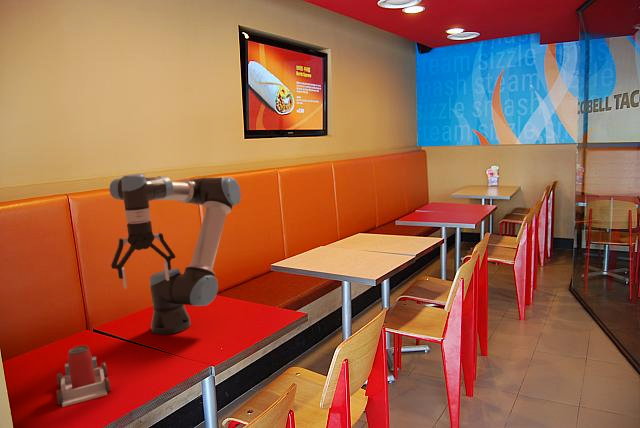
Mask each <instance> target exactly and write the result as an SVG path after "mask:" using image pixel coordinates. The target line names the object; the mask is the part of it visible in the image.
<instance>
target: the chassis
mask: <svg viewBox="0 0 640 428" xmlns="http://www.w3.org/2000/svg"><path fill="white" fill-rule="evenodd" d="M92 362H93V369H94V375H95V383H94V384H90V385H86V386H82V387H79V388H75V389H73V388H72V384H71V378H70V371H69V365H68V363H64V369H65V370H64V371H65V375H63V373H61V372H60V373H57V374H56V381H57V385H58V386H57V387H58V388H60V389H58V390H56V400H57V404H58V406H60V405H61V406H62V408H64V407H67V406H71V405H75V404H78V403H83V402H86V401H90V400H93V399H97V398H100V397H104V396H107V395H108V392H110V391H111V386H110V379H109V377H105V376H107V375H108V371H107V365H106V362H101V363H100V364H101V366H99V367H98V363H97V356H92Z"/></svg>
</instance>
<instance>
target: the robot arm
mask: <svg viewBox="0 0 640 428" xmlns="http://www.w3.org/2000/svg"><path fill="white" fill-rule="evenodd" d="M109 193H110V196H111V197H112V198H113V199H116V200H122V201H123V204H124V213H125V219H126V222H127V225H126V228H127V234H128V236H127V238H121V237H120V238H118V245H117V249H116V251H115V254H114V256H113V259H112V261H111V264H110V265H111V269H115V270H117V274H118V275H117V276H118V279H119V280H121V279H122V282H123V283H122V284H123V288H124V290H125V289H128V285H127V279H126V277H127V276H126V270H125V268H124V266H125V265H126V263H127V261H128V260H129V258H131V256H132V254H133V253H134V252H135V250H137V251H140V250H148V249H149V248H151V249H152V250H153V251H154V252H156V253H158V255H160V256H161V257H162V258H163V259H165V260H163V268H164V270H161V271H160V270H159V271H158V272H157V271H156V273H154V274H152V275H150V279H149V288H150V294H151V300H152V307H153V314H152V320H151V324H150V328H151V329H150V330H151V333H153V334H155V335H171V334H177V333H179V332H182V331H185V330H186V329H188V328H190V326H191V318H190V316H189V313H188V312H187V309H186V307H185V306H194V307H202V306H203V307H204V306H205V307H206V306H208V305H210V304H211V303H212V302H213V301H214V300H215V299H216V297H217V294H218V291H219V285H218V284H219V282H218V279H217V278H216V277H215V276H216V273H215V272H214V269H213V268H214V265H215V261H216V256H217V254H218V253H217V252H218V249H219V246H220V245H219V244H220V241H221V237H222V234H223V230H224V227H225V222H226V217H227V215H228V214H231V212H232V209H233V206H237V205H238V204H240V202H241V200H242V199H241V197H242V193H241V188H240V184H239V183H238V181H237V180H236V179H235V178H233V177H227V176H222V177H198V178H192V179H191V178H190V179H181V180H178V181H175V180H174V181H173V180H171V179H170V178H169V177H168V176H163V175H161V176H159V175H158V176H156V177H153V176H152V177H146V175H145V174H143V173H133V174H127V175H123V176H122V177H120V178H115V179H113V180H112V181H111V182H110V184H109ZM150 201H178V202H180V203H182V204H185V203H186V204H193V205H200V206H203V207H204V209H205V212H204V214H203V218H202V222H201V225H200V229H199V233H198V236H197V240H196V244H195V247H194V251H193V254H192V258H191V262H190V264H188V265H187V266H186V267H185V269H184V273H182V272H181V270H180V269H179V268H177V267H176V268H172V265H171V261H172V260H173V259H175V258H176V255H175V254H174V252H173V250H172V249H171V247H170V246H169V245H168V244H167V242H166V240H165V238H164V234H163V233H162V232H160V231H159V232H158V233H156V234H155V233H154V234H153V228H152V227H153V226H152V221H151V220H150V219H151V212H150V203H149V202H150ZM155 239H156V240H157V241H159V242H160V243H161V245H162V247H164V249H165V251H167V253H168V255H167V254H166V253H165V252H164V251H162V250H161V249H160V248H159V247H157V246H156V245H155V244H154V243H153V242H154V240H155ZM127 243H128V244H129V245H130V246H129V247H128V249H127V251H126V252H125V253H124V255H123V256H122V258H121V260H120V261H119V259H120V257H121V254H122V252H123V249H124V246H126V244H127Z"/></svg>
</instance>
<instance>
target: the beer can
mask: <svg viewBox="0 0 640 428" xmlns="http://www.w3.org/2000/svg"><path fill="white" fill-rule="evenodd" d="M67 353H68V354H67V364H68V365H69V371H70V378H71V384H72V388H73V389H75V388H79V387H82V386H86V385H90V384H94V383H95V375H94V369H93V362H92V358H93V356H92V353H91V349H89V346H87V345H78V346H74V347H72V348H70V349H69V350H68V352H67Z"/></svg>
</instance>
